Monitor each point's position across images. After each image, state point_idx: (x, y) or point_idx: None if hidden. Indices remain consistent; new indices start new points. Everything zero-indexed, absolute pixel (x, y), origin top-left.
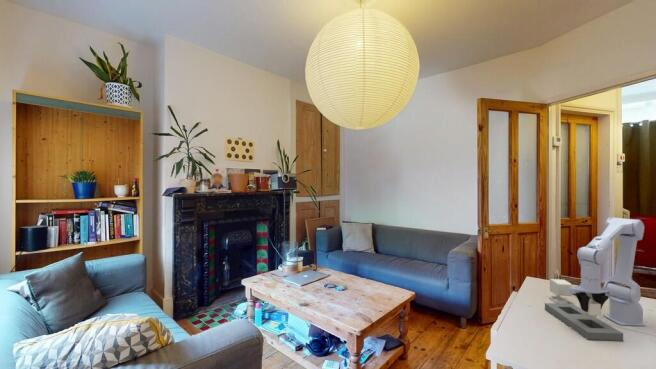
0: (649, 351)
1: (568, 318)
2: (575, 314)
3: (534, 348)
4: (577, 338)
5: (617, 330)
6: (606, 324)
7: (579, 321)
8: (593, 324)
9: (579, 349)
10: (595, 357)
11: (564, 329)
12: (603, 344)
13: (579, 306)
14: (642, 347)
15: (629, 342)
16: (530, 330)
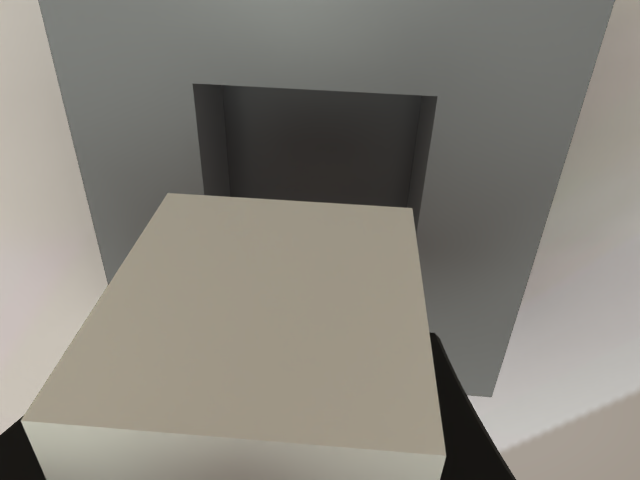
0: (531, 434)
1: (67, 61)
2: None
3: None
4: (73, 284)
5: (497, 353)
6: (522, 234)
7: (187, 157)
8: (427, 111)
9: (11, 398)
10: None
11: (19, 128)
12: None
13: (146, 232)
14: (542, 399)
15: (517, 344)
16: None
